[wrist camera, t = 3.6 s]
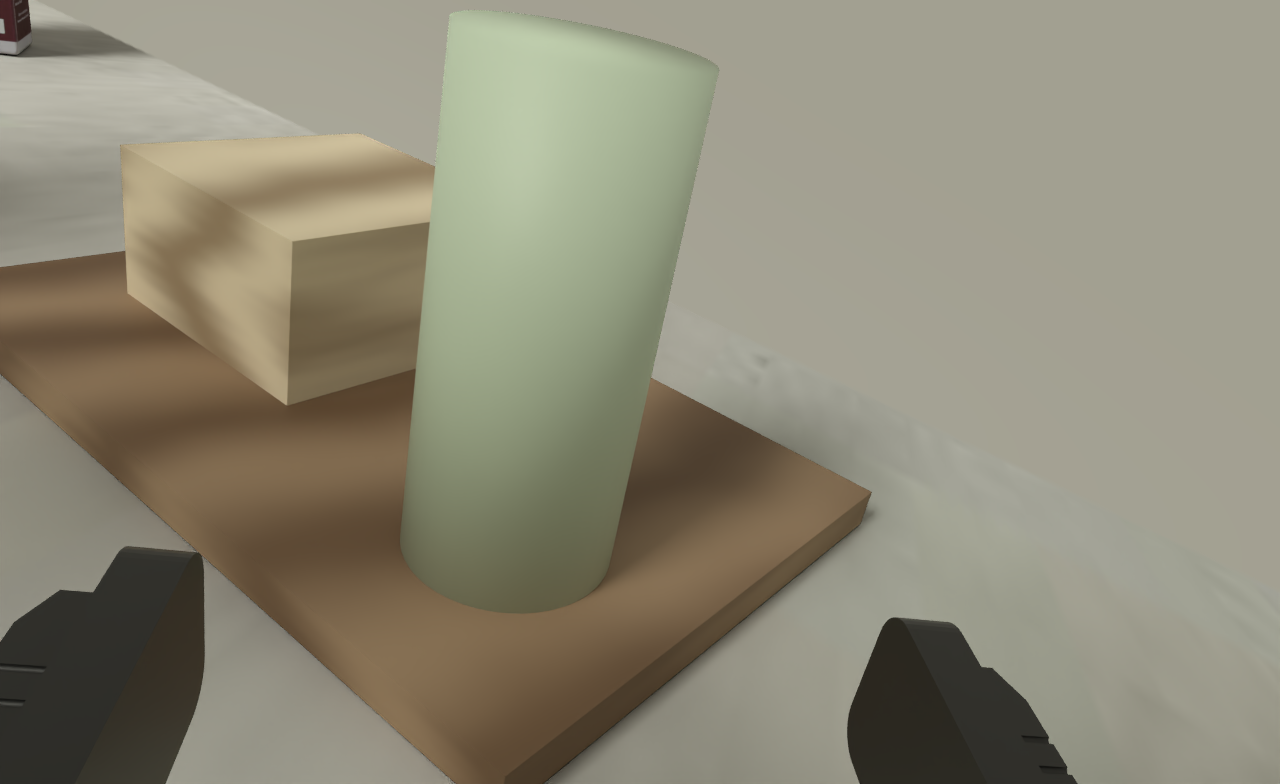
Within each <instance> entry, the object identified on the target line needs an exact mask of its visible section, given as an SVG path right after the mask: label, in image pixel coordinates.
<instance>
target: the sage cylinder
mask: <svg viewBox="0 0 1280 784" xmlns="http://www.w3.org/2000/svg"><path fill="white" fill-rule="evenodd" d="M718 73H719V68H718V66H717V65H715V64H714V63H713V62H711V61H710V60H708V59H706V58H703V57H701V56H699V55H697V54H694V53H692V52H689V51H686V50H683V49H680V48H678V47H674V46H671V45H668V44H665V43H661V42H658V41H655V40H651V39H647V38H643V37H640V36H636V35H632V34H627V33H624V32H620V31H615V30H611V29H606V28H602V27H597V26H592V25H587V24H582V23H577V22H572V21H566V20H560V19H554V18H548V17H541V16H535V15H527V14H519V13H510V12H499V11H483V10H468V11H458V12H454V13H452V14H450V16H449V27H448V37H447V48H446V58H445V69H444V80H443V90H442V101H441V111H440V122H439V132H438V143H437V153H436V164H435V174H434V184H433V195H432V206H431V216H430V227H429V237H428V248H427V258H426V269H425V279H424V290H423V300H422V311H421V321H420V332H419V342H418V353H417V363H416V374H415V384H414V395H413V405H412V416H411V427H410V437H409V448H408V458H407V469H406V479H405V490H404V500H403V511H402V521H401V532H400V546H401V552H402V554H403V557H404V560H405V561H406V563H407V565H408V566H409V568H410V569H411V571H412V572H413V573H414V574H415V575H416V576H417V578H419V579H420V580H421V581H422V582H423V583H424V584H425V585H427V586H428V587H430V588H431V589H433V590H434V591H436V592H437V593H439V594H441V595H443V596H445V597H447V598H449V599H451V600H453V601H456V602H458V603H461V604H463V605H467V606H470V607H474V608H477V609H482V610H487V611H492V612H500V613H517V614H524V613H538V612H544V611H550V610H554V609H557V608H561V607H564V606H567V605H569V604H572V603H574V602H576V601H578V600H580V599H582V598H584V597H585V596H587V595H588V594H589V593H591V592H592V591H593V590H594V589H595V588H596V587H597V586H598V585H599V584H600V583H601V582H602V580H603V579H604V577H605V575H606V573H607V571H608V568H609V564H610V560H611V555H612V551H613V546H614V542H615V537H616V533H617V528H618V524H619V519H620V515H621V510H622V506H623V501H624V497H625V492H626V488H627V483H628V479H629V474H630V470H631V465H632V461H633V456H634V452H635V447H636V443H637V438H638V434H639V429H640V425H641V420H642V416H643V411H644V407H645V402H646V398H647V393H648V389H649V384H650V379H651V375H652V370H653V366H654V361H655V357H656V352H657V348H658V343H659V339H660V334H661V330H662V325H663V321H664V316H665V312H666V307H667V303H668V298H669V294H670V289H671V285H672V280H673V275H674V271H675V267H676V262H677V258H678V253H679V249H680V244H681V239H682V235H683V231H684V226H685V222H686V217H687V213H688V208H689V204H690V199H691V194H692V190H693V186H694V181H695V177H696V172H697V168H698V163H699V159H700V154H701V149H702V145H703V141H704V136H705V131H706V127H707V123H708V118H709V114H710V109H711V104H712V100H713V96H714V91H715V86H716V82H717V77H718Z"/></svg>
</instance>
